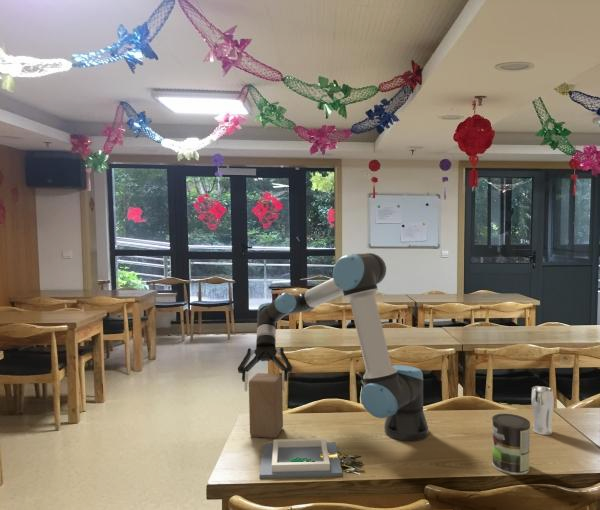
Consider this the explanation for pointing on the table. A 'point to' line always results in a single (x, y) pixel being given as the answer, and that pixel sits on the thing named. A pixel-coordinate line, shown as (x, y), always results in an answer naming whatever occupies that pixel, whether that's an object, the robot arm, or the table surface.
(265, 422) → the block
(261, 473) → the grey square frame tray
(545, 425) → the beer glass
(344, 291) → the robot arm
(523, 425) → the coffee can
